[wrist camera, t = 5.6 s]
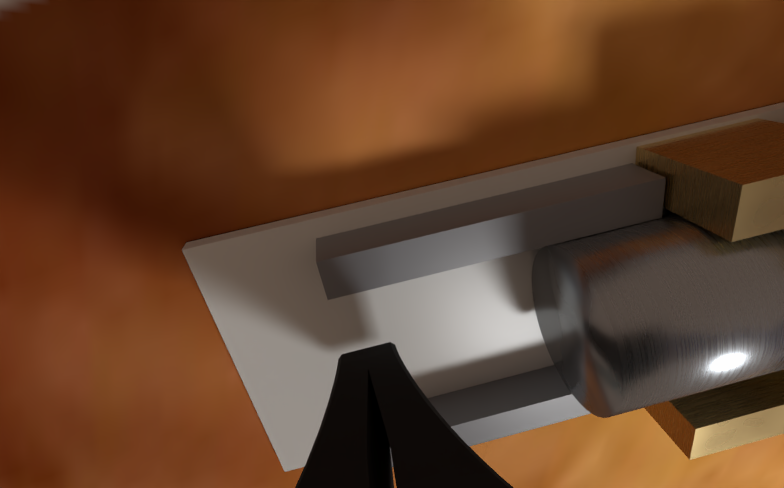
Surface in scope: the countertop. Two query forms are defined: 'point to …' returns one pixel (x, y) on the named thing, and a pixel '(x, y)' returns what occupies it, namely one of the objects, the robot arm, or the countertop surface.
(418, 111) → the countertop surface
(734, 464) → the countertop surface
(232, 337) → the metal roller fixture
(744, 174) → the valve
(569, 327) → the metal cylinder
